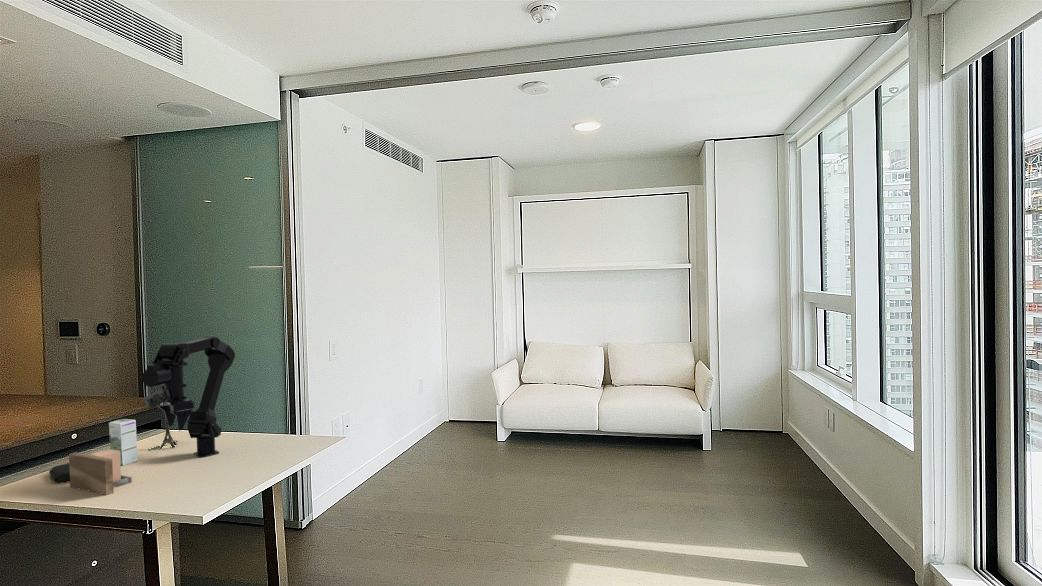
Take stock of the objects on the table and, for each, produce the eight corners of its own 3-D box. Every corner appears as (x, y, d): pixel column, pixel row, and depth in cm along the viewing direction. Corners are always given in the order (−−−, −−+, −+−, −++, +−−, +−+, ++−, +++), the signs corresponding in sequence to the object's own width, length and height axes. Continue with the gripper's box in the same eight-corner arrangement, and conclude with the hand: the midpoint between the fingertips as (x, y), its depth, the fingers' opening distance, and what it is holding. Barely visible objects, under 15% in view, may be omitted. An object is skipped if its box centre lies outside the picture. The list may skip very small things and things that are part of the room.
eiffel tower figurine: (177, 441, 229) (176, 407, 229) (195, 444, 225) (194, 409, 225) (139, 452, 216) (137, 416, 215) (157, 455, 212) (155, 418, 211)
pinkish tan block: (110, 481, 183) (109, 449, 183) (121, 483, 181) (119, 451, 180) (90, 487, 178) (89, 454, 178) (101, 489, 176) (99, 456, 175)
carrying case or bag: (44, 476, 190) (53, 486, 180) (43, 467, 190) (52, 476, 180) (84, 468, 198) (95, 477, 188) (84, 459, 198) (95, 467, 188)
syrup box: (138, 460, 204) (136, 419, 203) (122, 466, 198) (120, 423, 198) (126, 459, 205) (124, 418, 205) (109, 464, 200) (108, 422, 200)
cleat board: (105, 476, 188) (103, 445, 187) (140, 483, 180) (139, 451, 180) (70, 486, 179) (68, 454, 178) (106, 495, 171) (104, 460, 171)
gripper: (137, 381, 195) (138, 428, 196) (155, 388, 183) (157, 438, 183) (174, 377, 203) (175, 422, 204) (194, 382, 191) (196, 430, 191)
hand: (175, 428), depth 195 cm, fingers open, 9 cm apart
